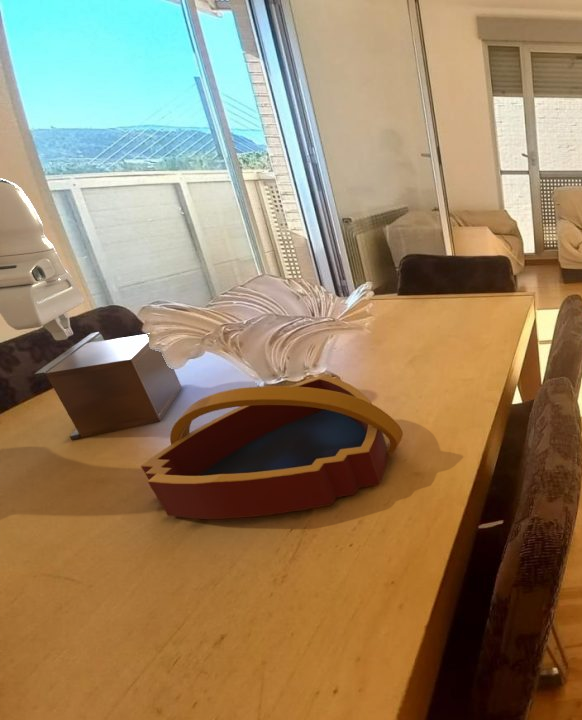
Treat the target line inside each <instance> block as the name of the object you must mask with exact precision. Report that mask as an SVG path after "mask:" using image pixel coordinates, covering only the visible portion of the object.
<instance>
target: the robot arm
mask: <svg viewBox="0 0 582 720" xmlns="http://www.w3.org/2000/svg"><path fill="white" fill-rule="evenodd" d="M84 302H85V300H84V295H83V293H82V292H81V290H80V288H79V286H78V284H77V283H76V281H75V279H74V277H73V276H72V275H71V273H70V272H69V271H67V270H66V268H65V266H64V264H63V262H62V260H61V258H60V256H59V254H58V252H57V250H56V248H55V246H54V245H53V243H51V242H50V240H48V238H47V236H46V235H45V231H44V224H43V222H42V220H41V218H40V216H39V215H38V213H37V211H36V209H35V207H34V206H33V204H32V202H31V201H30V199H29V198H28V196H27V195H26V193H25V192H24V191H23V189H22V188H21V187H19V186H18V185H17V184H16V183H13V182H12V181H11V180H10V181H9V180H8V179H5V178H0V316H1V317H2V318H3V320H4V322H6V324H7V325H8V326H9V327H11V328H12V329H13V330H15V331H22V330H31V329H36V328H42V327H43V328H44V329H45V330H47V332H49V333H50V334H51V336H52V338H53V339H54V340H55V341H64V340H67V339H68V338H70V337H71V336H73V335H74V331H73V329H72V327H71V321H70V316H69V314H68V312H70V311H72V310H73V309H75V308H76V307H79V306H81V305H82V304H83V303H84Z"/></svg>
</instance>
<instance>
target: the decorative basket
mask: <svg viewBox="0 0 582 720" xmlns="http://www.w3.org/2000/svg"><path fill="white" fill-rule="evenodd" d="M231 408H234V409H233V410H230V411H229V412H228V411H227V412H226V413H224V414H223V415H221V416H218V417H216V418H215V419H212V420H211V421H209V422H207V423H205V424H203V425H202V426H199V427H198V428H196V429H194V430H193V431H191V430H190V428H191V424H192V422H193V421H194V420H195V419H197V418H199V417H201V416H203V415H205V414H209V413H212V412H216V411H221V410H225V409H231ZM403 436H404V434H403V429H402V427H401V426H400V425H399V423H398V422H397V421H396V420H395V419H394V418H393V417H392V416H391V415H389V414H388V413H387V412H385V410H383V409H381V408H380V407H378V406H376V405H375V404H373V403H372V401H371V400H370V399H369V398H368V396H367V395H365V393H363V392H362V391H361V390H359V389H358V388H357V387H356V386H353V385H351V384H350V383H348V382H345V381H343V380H341V379H338V378H336V377H333V376H329V375H326V374H321V375H318V376H314V377H311V378H308V379H305V380H303V381H299V382H296V383H293V384H290V385H267V386H265V385H263V386H248V387H247V386H246V387H239V388H233V389H228V390H223V391H219V392H217V393H213V394H210V395H208V396H205V397H203V398H200V399H199V400H197V401H195V402H193V404H191V405H190V406H189V407H188V408H187V409H186V410H185V411H184V412H183V414H182V415H181V416H180V417H179V419H178V420H177V421H176V422H175V423H174V425H173V426H172V428H171V431H170V435H169V440H170V445H168V446H167V447H165V448H164V449H162V450H161V451H159V452H158V453H156V454H155V455H153V456H152V457H150V458H149V459H148V460H146V461H145V462H143V463H142V464H141V465H140V467H141V469H142V471H143V472H144V475H145V476H146V478H147V479H148V480H147V484H148V485H149V487H150V488H151V490H152V491H153V493H154V495H155V497H156V498H157V500H158V501H159V503H160V504H161V506H162V508H163V510H164V511H165V513H166V515H167V516H169V517H179V518H187V519H188V518H189V519H203V520H205V519H206V520H216V519H217V520H219V519H229V518H230V519H231V518H246V517H247V518H248V517H249V518H250V517H260V516H267V515H269V516H270V515H277V514H282V513H289V512H295V511H302V510H309V509H315V508H319V507H325V506H331V505H333V503H334V502H335V500H336V498H339V497H344V496H345V497H346V496H352V495H356V493H357V491H359V489H360V488H366V487H372V486H377V485H380V484H381V481H382V479H383V476H384V474H385V470H386V467H387V462H388V456H389V455H391V454H393V453H394V452H395V451H396V450H397V448H398V446H399V444H400V443H401V441H402V438H403ZM385 437H387V438H388V441H389V444H387V442H386V439H385Z"/></svg>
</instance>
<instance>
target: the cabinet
mask: <svg viewBox="0 0 582 720" xmlns="http://www.w3.org/2000/svg"><path fill="white" fill-rule="evenodd" d="M147 334H148V333H145V334H139V335H138V334H137V335H132V336H126V337H117V338H112V339H104V341H97V342H91V341H92V340H94V339H95V338H96V337H98V336H99V335H101V332H99V331H96V332H90V334H88V335H87V336H86V337H84V338H82V339H81V340H80V341H78V342H77V343H75V344H74V345H73V346H71V347H70V348H68V349H67V350H66V351H64V352H63V353H61V354H59V356H57V357H56V358H55V359H53V360H52V361H50V362H49V363H47V364H46V365H44V366H43V367H42V368H40V369H38V370H37V371H36V372H35V373H33V375H34V377H35V378H38V377H43V376H46V377H47V379H48V381H49V383H50V384H51V386H52V388H53V389H54V391H55V394H56V396H57V397H58V399H59V400H60V403H61V404H62V406H63V408H64V409H65V412H66V413H67V415H68V416H69V418H70V420H71V423H72V424H73V426H74V427H75V430H74V431H72V433H71V434H70V435H69V439H70V440H71V441H74V440H78V439H84V438H88V437H92V436H98V435H102V434H106V433H112V432H116V431H121V430H125V429H130V428H135V427H140V426H145V425H150V424H155V423H158V422H161V420H162V419H163V418H164V416H165V415H166V413H167V411H168V410H169V408H170V407H171V406H172V403H173V402H174V401H175V399H176V397H178V395H179V393H180V391H181V390H182V388H183V386H182V385H181V382H180V380H179V378H178V375H177V373H176V371H175V368H174V369H171V368H169V367H168V366H167V364H166V362H165V360H164V358H163V356H162V353H161V352H159V351H155V350H152V349H150V347H149V337H148V335H147ZM90 342H91V343H90Z"/></svg>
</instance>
